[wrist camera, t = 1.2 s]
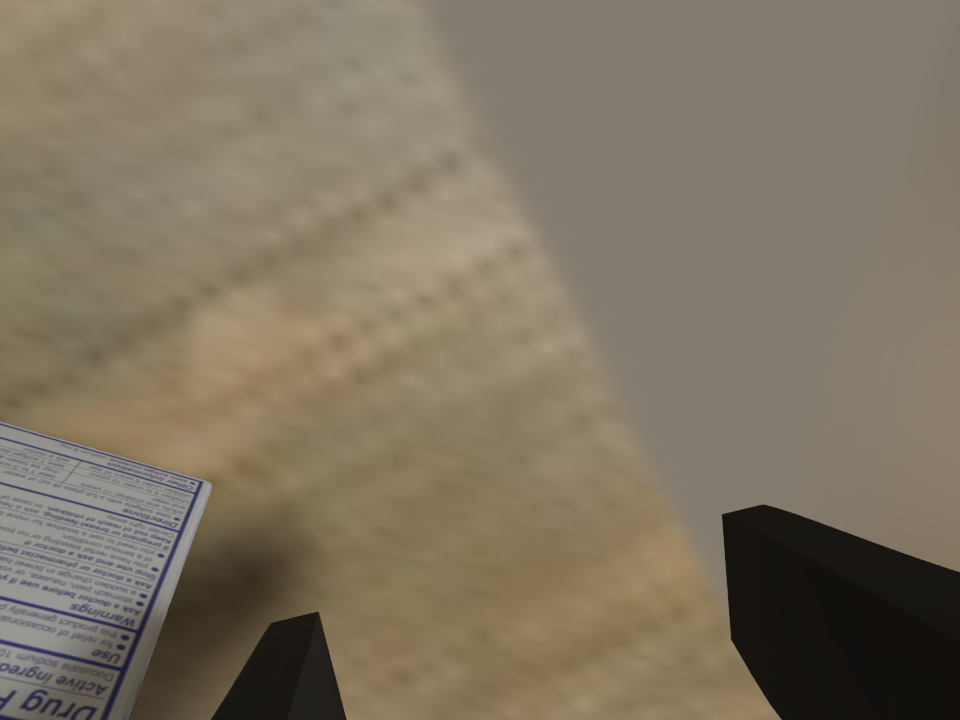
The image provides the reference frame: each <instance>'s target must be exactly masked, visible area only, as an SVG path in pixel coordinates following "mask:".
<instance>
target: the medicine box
mask: <svg viewBox="0 0 960 720" xmlns="http://www.w3.org/2000/svg"><path fill="white" fill-rule="evenodd" d="M211 489H212V486H211V483H210V482H208V481H206V480H202V479H199V478H195V477H192V476H188V475H185V474H181V473H178V472H174V471H171V470H167V469H164V468H160V467H156V466H153V465H149V464H146V463H142V462H139V461H135V460H132V459H129V458H125V457H122V456H118V455H115V454H111V453H108V452H104V451H101V450H98V449H94V448H91V447H87V446H84V445H80V444H77V443H73V442H70V441H66V440H63V439H59V438H55V437H52V436H48V435H45V434H42V433H38V432H35V431H32V430H28V429H25V428H21V427H17V426H14V425H10V424H7V423H3V422H0V720H129V718H130V716H131V713H132V710H133V707H134V704H135V702H136V699H137V696H138V693H139V690H140V688H141V685H142V682H143V679H144V676H145V674H146V671H147V668H148V665H149V663H150V660H151V657H152V654H153V651H154V648H155V645H156V642H157V640H158V637H159V634H160V631H161V628H162V626H163V623H164V620H165V617H166V614H167V612H168V609H169V606H170V603H171V600H172V597H173V595H174V592H175V589H176V586H177V583H178V580H179V578H180V575H181V572H182V569H183V566H184V564H185V561H186V558H187V555H188V552H189V550H190V547H191V544H192V541H193V539H194V536H195V533H196V530H197V528H198V525H199V522H200V520H201V517H202V514H203V512H204V509H205V506H206V504H207V501H208V498H209V495H210V492H211Z"/></svg>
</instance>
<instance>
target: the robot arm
mask: <svg viewBox="0 0 960 720" xmlns="http://www.w3.org/2000/svg"><path fill="white" fill-rule="evenodd" d="M722 521H723V534H724V548H725V561H726V575H727V589H728V602H729V616H730V629H731V640H732V642H733V643H734V645H735V647H736V649H737V650H738V652H739V654H740V655H741V657H742V659H743V661H744V662H745V664H746V666H747V667H748V669H749V671H750V673H751V674H752V676H753V678H754V679H755V681H756V682H757V684H758V686H759V687H760V689H761V690H762V692H763V694H764V695H765V697H766V698H767V700H768V702H769V703H770V705H771V706H772V707H773V709H774V710H775V711H776V713H777V714H778V715H779V717H780V718H781V719H782V720H960V572H957V571H954V570H950V569H948V568H945V567H942V566H939V565H936V564H933V563H930V562H927V561H924V560H921V559H918V558H915V557H913V556H910V555H907V554H904V553H901V552H898V551H896V550H893V549H890V548H887V547H884V546H881V545H879V544H876V543H873V542H870V541H868V540H865V539H862V538H860V537H857V536H854V535H852V534H849V533H846V532H843V531H841V530H838V529H835V528H833V527H830V526H827V525H824V524H822V523H819V522H816V521H814V520H810V519H808V518H805V517H802V516H799V515H797V514H794V513H791V512H787V511H785V510H781V509H778V508H775V507H771V506H767V505H759V506H755V507H750V508H746V509H742V510H738V511H734V512H730V513H725V514H722ZM211 720H346V716H345V712H344V708H343V704H342V701H341V697H340V693H339V689H338V685H337V681H336V677H335V673H334V669H333V666H332V662H331V658H330V654H329V650H328V646H327V642H326V638H325V634H324V631H323V627H322V623H321V619H320V615H319V612H315V613H310V614H306V615H302V616H298V617H294V618H290V619H286V620H281V621H277V622H273V623H271V624H270V626H269V627H268V628H267V630H266V631H265V633H264V634H263V636H262V637H261V639H260V641H259V642H258V644H257V646H256V647H255V649H254V651H253V652H252V654H251V656H250V657H249V659H248V661H247V662H246V664H245V666H244V667H243V669H242V671H241V672H240V674H239V676H238V677H237V679H236V681H235V682H234V684H233V685H232V687H231V689H230V690H229V692H228V694H227V695H226V697H225V698H224V700H223V702H222V703H221V705H220V706H219V708H218V709H217V711H216V712H215V714H214V716H213V717H212V719H211Z"/></svg>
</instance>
